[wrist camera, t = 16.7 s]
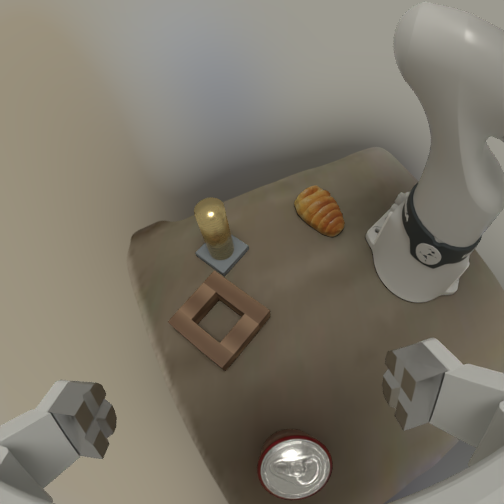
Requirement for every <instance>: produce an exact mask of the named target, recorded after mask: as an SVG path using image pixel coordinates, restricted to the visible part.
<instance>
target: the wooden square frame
mask: <svg viewBox="0 0 504 504" xmlns="http://www.w3.org/2000/svg"><path fill="white" fill-rule="evenodd" d="M219 300H220V301H222V302H223V303H224V304H226V305H227V306H228V307H230V308H231V309H232V310H234V311H235V312H236V313H238V314H239V315H240V316H242V317H241V319H240V320H239V321H238V322H237V323H236V325H235V326H234V327H233V328H232V329H231V330H230V332H229V333H228V334H227V335H226V336H225V337H224V339H223V340H222V341H221V342H220V343H219V342H218V341H217V340H215V339H214V338H213V337H212V336H210V335H209V334H208V333H207V332H206V331H204V330H203V329H202V328H201V327H199V326H198V325H197V324H198V323H199V322H200V321H201V320H202V319H203V318H204V317H205V315H206V314H207V313H208V312H209V311H210V310H211V309H212V307H213V306H214V305H215V304H216V303H217V302H218V301H219ZM269 318H270V310H269V309H267V308H266V307H265V306H263V305H262V304H260V303H259V302H257V301H256V300H255V299H253V298H252V297H250V296H249V295H248V294H246V293H245V292H243V291H242V290H241V289H239V288H238V287H237V286H235V285H234V284H232V283H231V282H230V281H228V280H227V279H225V278H224V277H223V276H221V275H220V274H219V273H217V272H216V271H215V270H214V271H213V272H212V274H211V275H210V276H209V277H208V278H207V279H206V280H205V281H204V282H203V283H202V285H201V286H200V287H199V288H198V289H197V290H196V291H195V292H194V293H193V294H192V296H191V297H190V298H189V299H188V300H187V301H186V302H185V303H184V304H183V305H182V307H181V308H180V309H179V310H178V311H177V312H176V313H175V314H174V315H173V317H172V318H171V319H170V320H169V321H168V322H169V323H170V324H171V325H172V326H173V327H174V328H175V329H176V330H177V331H178V332H179V333H181V334H182V335H183V336H184V337H185V338H186V339H187V340H189V341H190V342H191V343H192V344H193V345H194V346H196V347H197V348H198V349H199V350H200V351H201V352H203V353H204V354H205V355H206V356H207V357H209V358H210V359H211V360H212V361H214V362H215V363H216V364H217V365H218V366H220V367H221V368H222V369H223V370H225V371H226V370H227V369H228V368H229V366H230V365H231V364H232V363H233V362H234V361H235V359H236V358H237V357H238V356H239V355H240V353H241V352H242V351H243V350H244V349H245V347H246V346H247V345H248V344H249V343H250V341H251V340H252V339H253V338H254V336H255V335H256V334H257V333H258V332H259V330H260V329H261V328H262V327H263V325H264V324H265V323H266V322H267V320H268V319H269Z"/></svg>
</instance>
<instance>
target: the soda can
mask: <svg viewBox="0 0 504 504" xmlns="http://www.w3.org/2000/svg"><path fill="white" fill-rule="evenodd" d="M332 467H333V462H332V458H331V455H330V453H329V451H328V449H327V448H326V447H325V446H324V445H323V444H322V443H321V442H320V441H318V440H317V439H315V438H313V437H312V436H310V435H309V434H307V433H305V432H303V431H301V430H298V429H284V430H280V431H278V432H276V433H274V434H272V435H271V436H270V437H269V438H268V439H267V440H266V442H265V443H264V445H263V447H262V450H261V454H260V457H259V461H258V465H257V474H258V478H259V481H260V483H261V485H262V486H263V487H264V489H265V490H266V491H268V492H269V493H270V494H272V495H273V496H275V497H277V498H281V499H285V500H300V499H304V498H307V497H310V496H312V495H314V494H316V493H317V492H319V491H320V490H321V489H322V488H323V487H324V486H325V485H326V483H327V482H328V480H329V478H330V476H331V473H332Z"/></svg>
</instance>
